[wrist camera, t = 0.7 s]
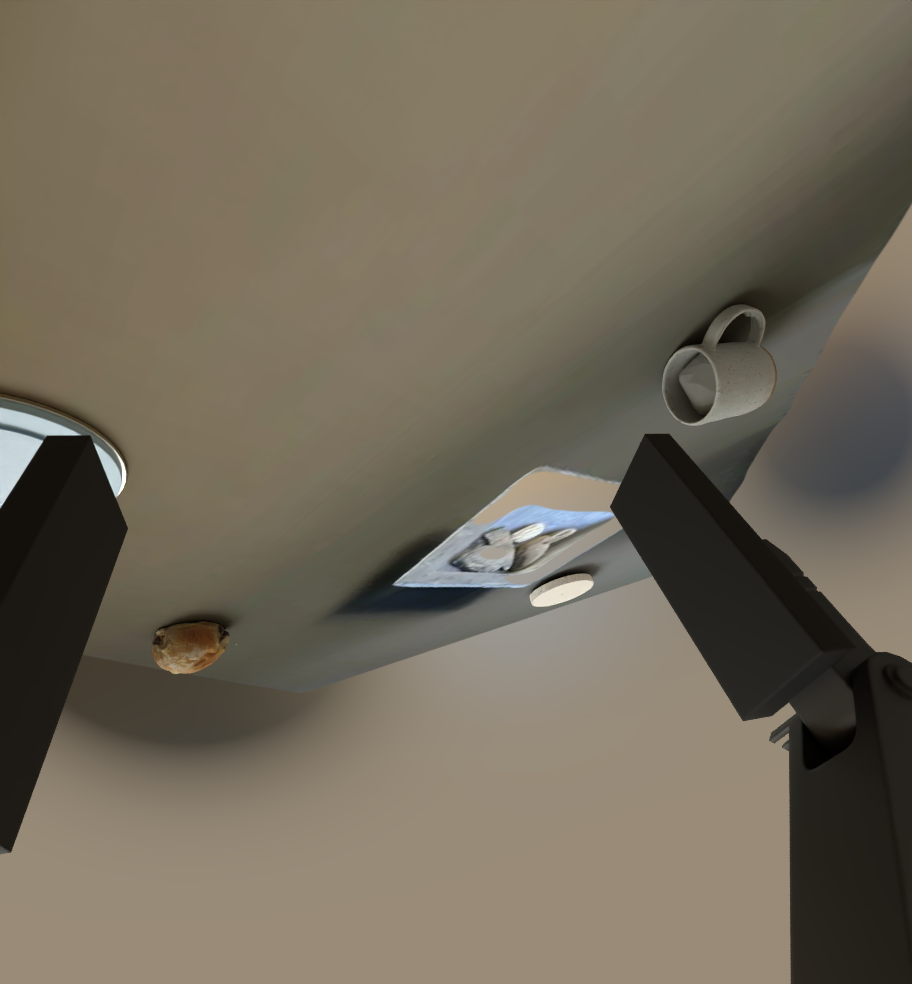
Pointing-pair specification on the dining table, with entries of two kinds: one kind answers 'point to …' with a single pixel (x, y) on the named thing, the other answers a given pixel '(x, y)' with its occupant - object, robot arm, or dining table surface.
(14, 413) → the blue plate
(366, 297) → the dining table surface
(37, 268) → the dining table surface
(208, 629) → the bread roll
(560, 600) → the plastic lid
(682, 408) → the ceramic mug
